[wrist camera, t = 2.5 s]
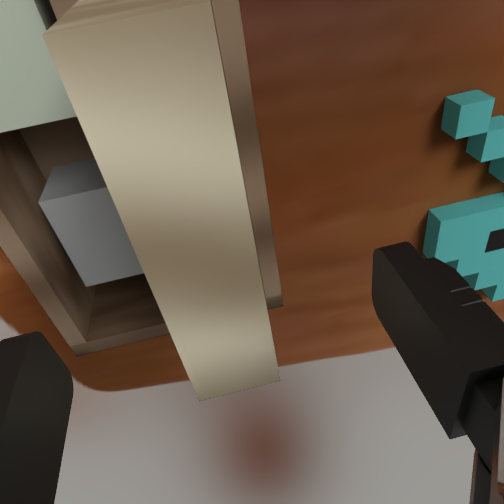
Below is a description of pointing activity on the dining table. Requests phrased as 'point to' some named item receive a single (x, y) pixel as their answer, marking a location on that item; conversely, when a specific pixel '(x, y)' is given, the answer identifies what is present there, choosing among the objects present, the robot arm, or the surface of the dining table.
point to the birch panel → (173, 175)
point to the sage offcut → (29, 67)
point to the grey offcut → (88, 223)
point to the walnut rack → (77, 149)
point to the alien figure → (473, 200)
